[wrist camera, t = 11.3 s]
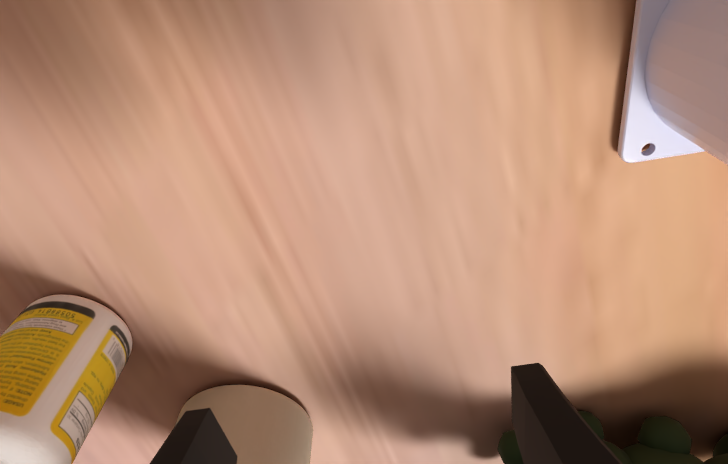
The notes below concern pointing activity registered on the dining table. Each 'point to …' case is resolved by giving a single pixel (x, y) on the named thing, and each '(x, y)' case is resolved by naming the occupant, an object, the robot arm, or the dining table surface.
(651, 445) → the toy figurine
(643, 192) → the dining table surface
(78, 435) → the supplement bottle
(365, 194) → the dining table surface
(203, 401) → the travel mug
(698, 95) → the robot arm
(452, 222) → the dining table surface
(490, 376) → the dining table surface
